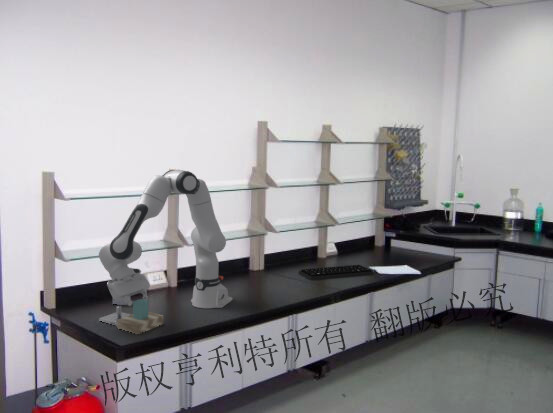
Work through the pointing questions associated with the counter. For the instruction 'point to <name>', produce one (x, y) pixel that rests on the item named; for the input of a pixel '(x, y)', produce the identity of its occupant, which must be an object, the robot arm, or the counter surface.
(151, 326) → the riser block
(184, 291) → the counter surface
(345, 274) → the computer keyboard
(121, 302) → the medicine box
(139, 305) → the teal square-faced block
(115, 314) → the post stand
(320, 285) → the counter surface
